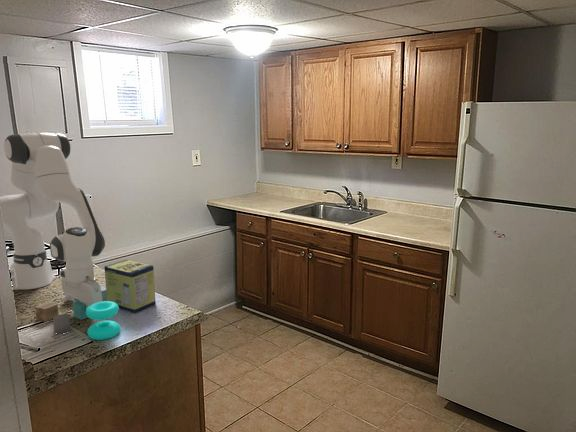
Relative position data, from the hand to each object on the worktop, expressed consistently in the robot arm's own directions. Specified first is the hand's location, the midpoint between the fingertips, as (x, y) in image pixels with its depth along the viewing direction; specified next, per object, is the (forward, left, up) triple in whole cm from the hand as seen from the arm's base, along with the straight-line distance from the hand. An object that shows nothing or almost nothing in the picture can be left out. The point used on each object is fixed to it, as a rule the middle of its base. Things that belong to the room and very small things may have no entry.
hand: (83, 310), depth 164 cm
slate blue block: (-8, +11, -2) cm, 14 cm away
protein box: (+5, +16, -2) cm, 17 cm away
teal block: (0, 0, -2) cm, 2 cm away
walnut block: (-8, -9, -2) cm, 12 cm away
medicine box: (-19, +8, -2) cm, 21 cm away
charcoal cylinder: (+6, -11, -2) cm, 13 cm away
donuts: (+19, -4, -2) cm, 20 cm away
